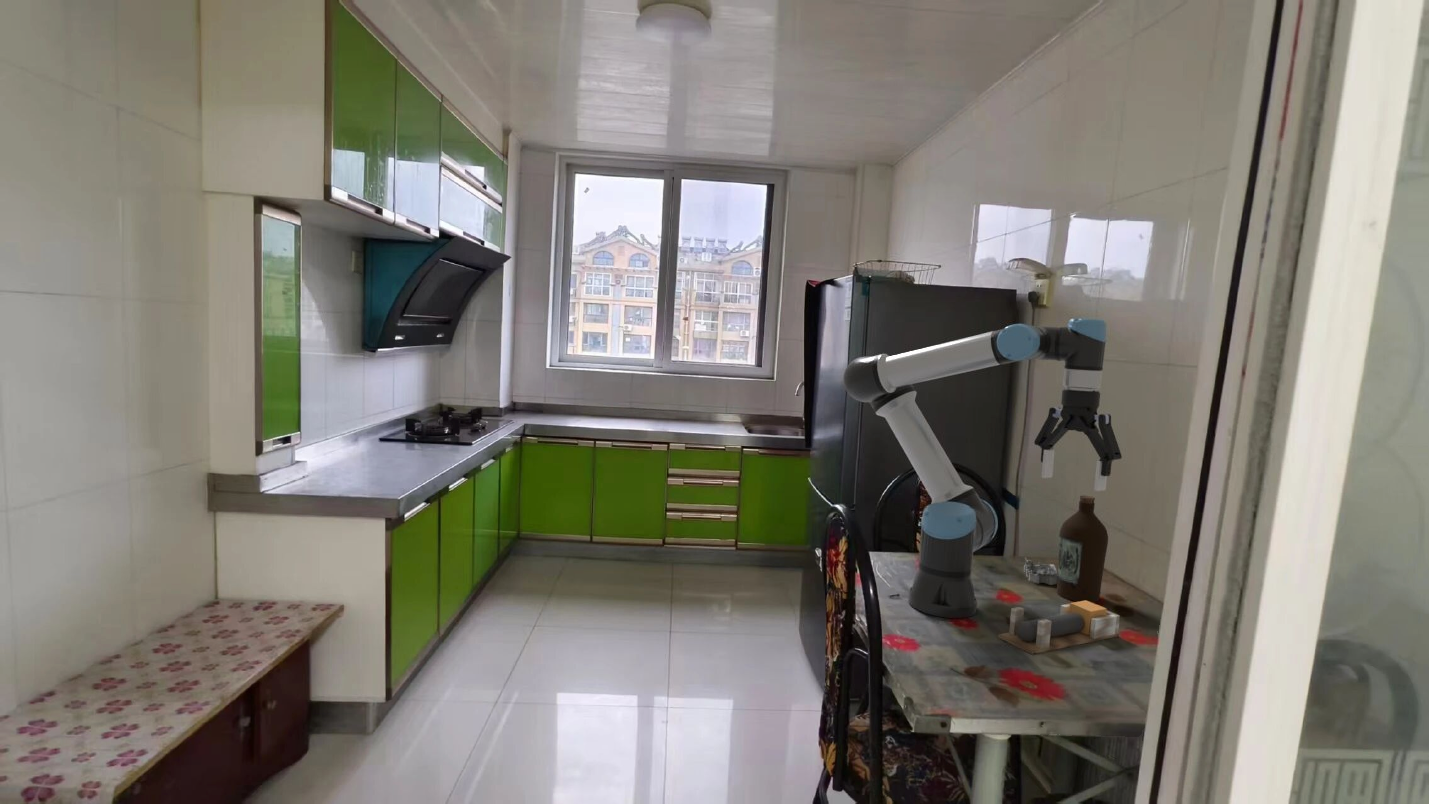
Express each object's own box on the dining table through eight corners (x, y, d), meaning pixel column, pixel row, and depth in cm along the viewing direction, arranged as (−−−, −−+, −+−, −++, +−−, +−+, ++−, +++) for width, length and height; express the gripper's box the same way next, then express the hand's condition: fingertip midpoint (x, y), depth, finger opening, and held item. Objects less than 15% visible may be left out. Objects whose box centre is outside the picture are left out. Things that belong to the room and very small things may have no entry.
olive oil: (1078, 587, 185) (1087, 491, 182) (1112, 602, 175) (1122, 501, 172) (1044, 589, 182) (1053, 492, 179) (1077, 605, 172) (1087, 502, 169)
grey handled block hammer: (1029, 647, 145) (1031, 622, 145) (1009, 637, 150) (1011, 613, 149) (1104, 632, 155) (1106, 608, 154) (1083, 623, 159) (1085, 600, 159)
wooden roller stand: (1031, 654, 143) (1034, 625, 143) (997, 637, 151) (1000, 609, 151) (1118, 636, 155) (1121, 609, 154) (1083, 620, 162) (1085, 595, 162)
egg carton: (1022, 571, 197) (1023, 556, 197) (1052, 574, 195) (1053, 559, 195) (1027, 583, 187) (1028, 567, 187) (1058, 587, 185) (1060, 571, 185)
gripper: (1146, 394, 150) (1136, 495, 152) (1046, 384, 172) (1038, 472, 174) (1122, 394, 146) (1112, 497, 149) (1023, 384, 169) (1015, 473, 171)
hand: (1072, 483), depth 161 cm, fingers open, 13 cm apart
